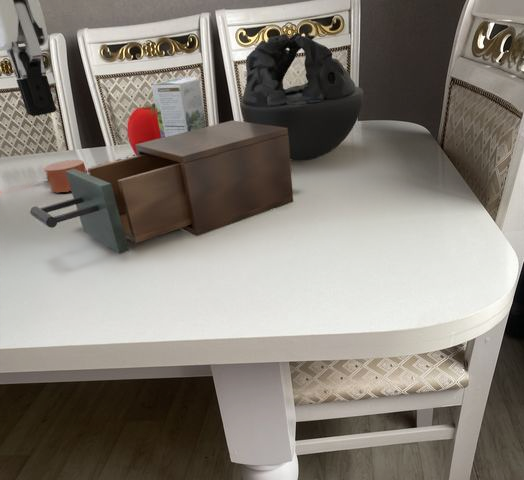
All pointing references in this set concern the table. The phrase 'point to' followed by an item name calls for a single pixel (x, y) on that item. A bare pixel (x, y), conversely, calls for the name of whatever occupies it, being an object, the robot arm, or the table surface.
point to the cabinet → (229, 171)
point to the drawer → (125, 200)
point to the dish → (62, 174)
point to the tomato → (143, 126)
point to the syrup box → (178, 105)
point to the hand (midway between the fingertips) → (42, 113)
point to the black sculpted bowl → (301, 95)
